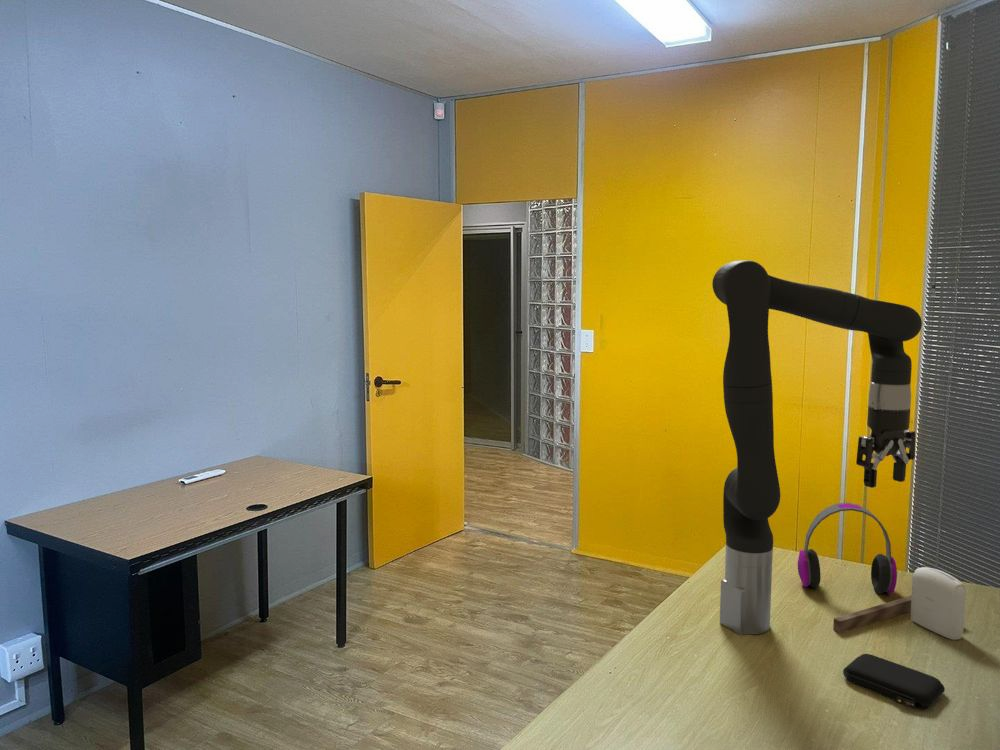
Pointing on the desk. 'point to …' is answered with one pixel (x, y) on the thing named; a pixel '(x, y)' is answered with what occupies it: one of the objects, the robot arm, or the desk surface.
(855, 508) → the headphones
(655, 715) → the desk surface
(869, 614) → the brown l-shaped block
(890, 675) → the carrying case or bag
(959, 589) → the photo printer
